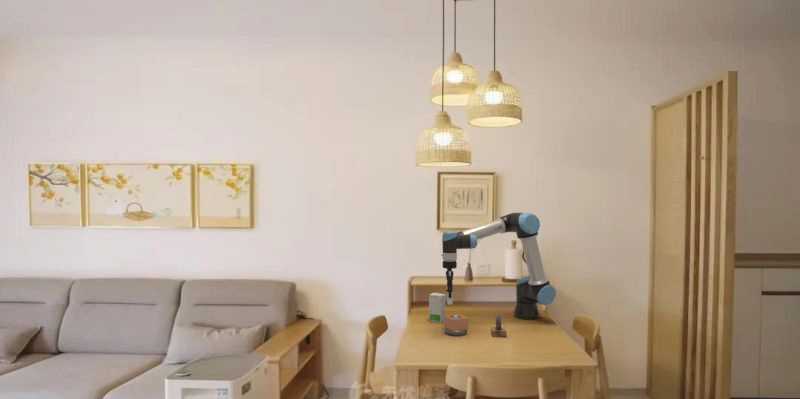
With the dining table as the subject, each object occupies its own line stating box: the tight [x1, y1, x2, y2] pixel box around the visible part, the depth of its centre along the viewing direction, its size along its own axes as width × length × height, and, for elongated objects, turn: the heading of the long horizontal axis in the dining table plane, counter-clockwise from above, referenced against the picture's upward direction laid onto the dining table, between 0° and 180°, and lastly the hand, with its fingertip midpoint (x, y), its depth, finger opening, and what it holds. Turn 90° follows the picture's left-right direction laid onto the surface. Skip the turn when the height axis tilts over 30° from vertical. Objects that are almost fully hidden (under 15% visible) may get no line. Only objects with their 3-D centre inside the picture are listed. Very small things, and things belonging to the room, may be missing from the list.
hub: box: [443, 313, 468, 337], centre depth 223 cm, size 12×12×10 cm
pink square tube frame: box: [443, 313, 469, 331], centre depth 223 cm, size 9×9×6 cm
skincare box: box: [428, 292, 447, 323], centre depth 248 cm, size 8×7×16 cm
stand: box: [490, 314, 508, 338], centre depth 219 cm, size 7×7×10 cm
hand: (449, 301), depth 223 cm, fingers open, 12 cm apart
